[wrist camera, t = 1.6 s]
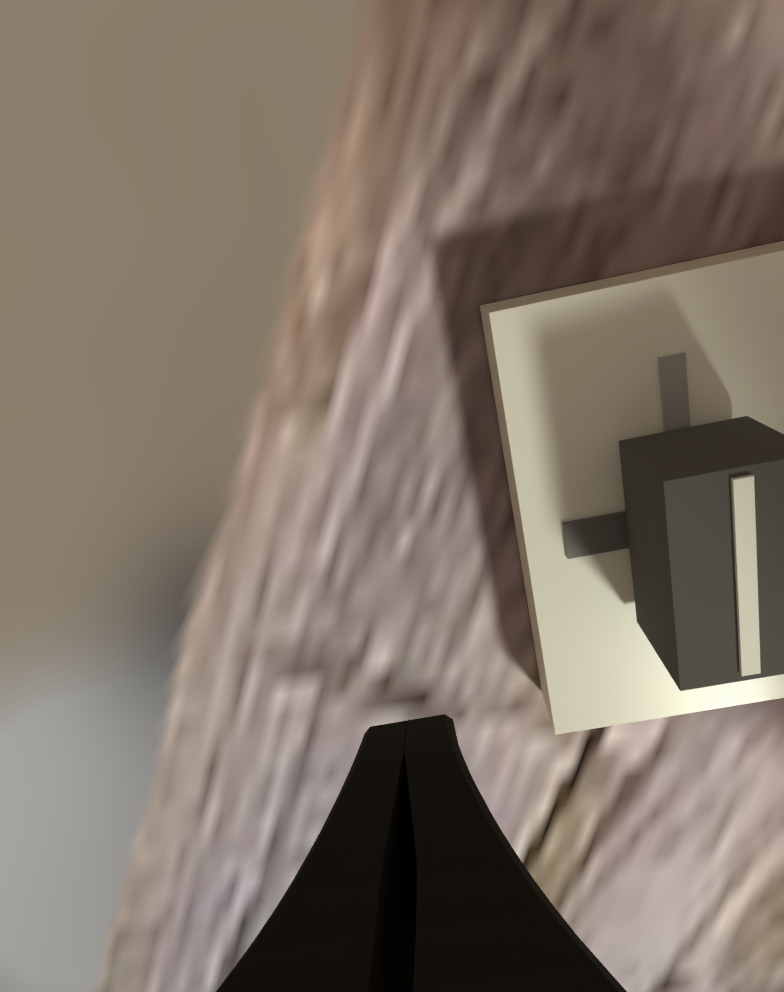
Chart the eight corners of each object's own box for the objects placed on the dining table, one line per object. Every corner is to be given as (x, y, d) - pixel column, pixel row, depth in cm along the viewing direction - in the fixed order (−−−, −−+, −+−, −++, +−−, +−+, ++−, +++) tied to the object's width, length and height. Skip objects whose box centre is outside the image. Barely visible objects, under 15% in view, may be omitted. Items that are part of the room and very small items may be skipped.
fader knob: (747, 415, 16) (822, 453, 13) (753, 601, 18) (822, 671, 15) (618, 440, 17) (665, 483, 14) (636, 621, 18) (681, 693, 15)
